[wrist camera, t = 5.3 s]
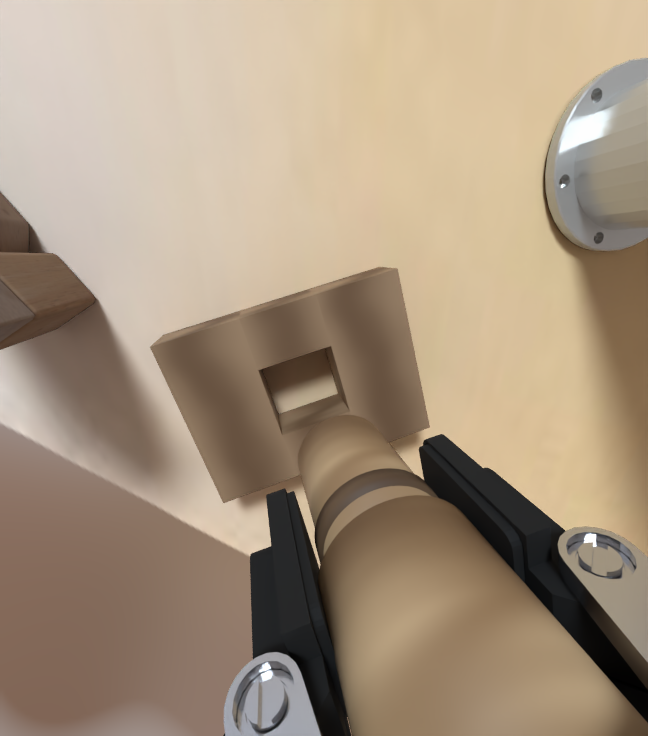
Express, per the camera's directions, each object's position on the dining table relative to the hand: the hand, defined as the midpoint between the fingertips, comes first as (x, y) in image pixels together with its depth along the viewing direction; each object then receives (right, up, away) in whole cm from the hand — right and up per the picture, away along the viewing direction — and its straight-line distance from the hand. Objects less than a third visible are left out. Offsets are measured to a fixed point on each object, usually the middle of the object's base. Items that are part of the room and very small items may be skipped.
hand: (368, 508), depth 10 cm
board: (-3, +3, +17) cm, 18 cm away
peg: (-1, +1, +3) cm, 3 cm away
